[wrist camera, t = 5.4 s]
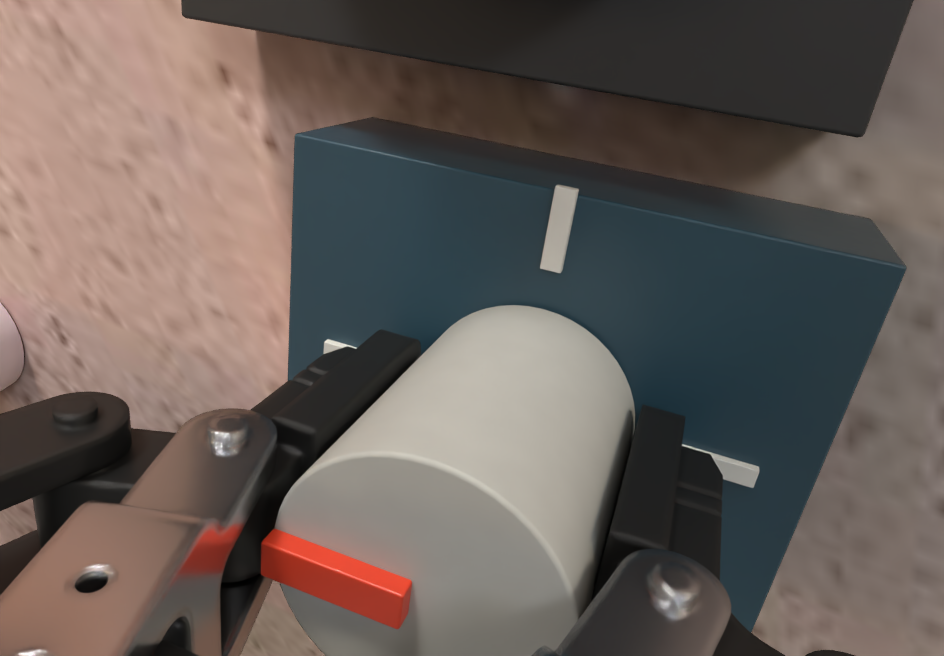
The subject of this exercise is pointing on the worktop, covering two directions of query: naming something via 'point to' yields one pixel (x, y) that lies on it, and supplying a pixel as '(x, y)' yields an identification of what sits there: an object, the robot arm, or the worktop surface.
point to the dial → (463, 497)
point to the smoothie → (9, 350)
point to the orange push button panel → (627, 46)
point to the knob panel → (608, 295)
